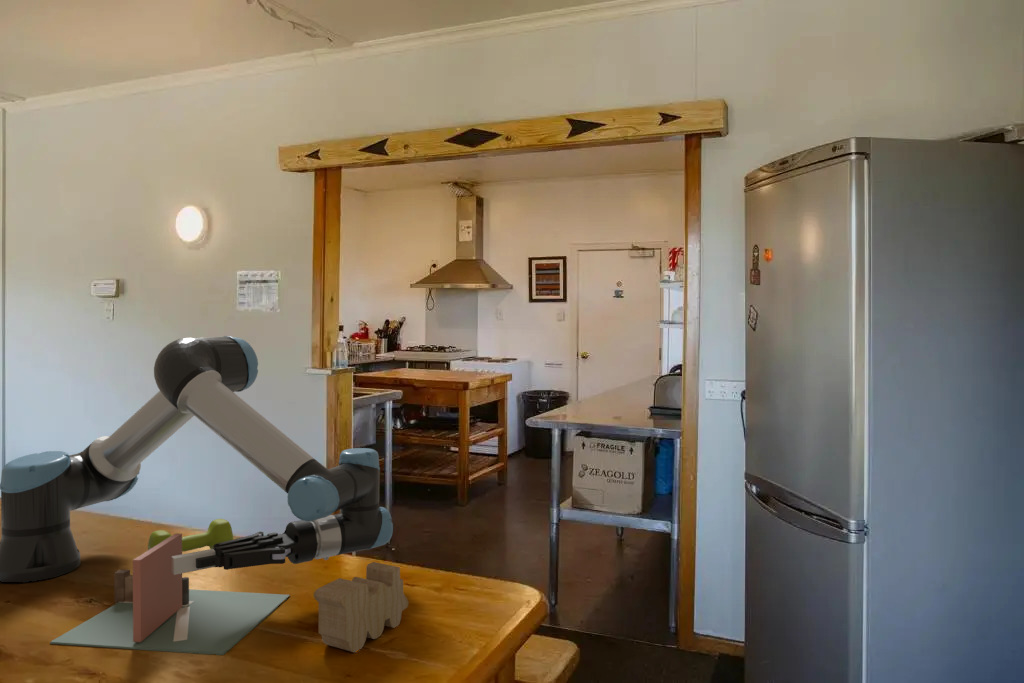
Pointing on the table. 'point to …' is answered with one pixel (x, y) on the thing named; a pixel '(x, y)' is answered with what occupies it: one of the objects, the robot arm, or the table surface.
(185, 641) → the card
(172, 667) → the table surface
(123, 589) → the fence wall
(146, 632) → the gate panel
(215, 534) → the dumbbell
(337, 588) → the toy train
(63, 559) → the robot arm
